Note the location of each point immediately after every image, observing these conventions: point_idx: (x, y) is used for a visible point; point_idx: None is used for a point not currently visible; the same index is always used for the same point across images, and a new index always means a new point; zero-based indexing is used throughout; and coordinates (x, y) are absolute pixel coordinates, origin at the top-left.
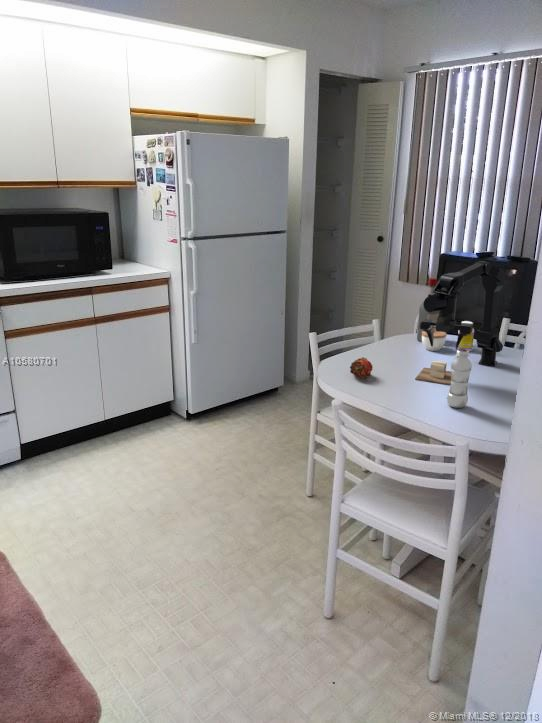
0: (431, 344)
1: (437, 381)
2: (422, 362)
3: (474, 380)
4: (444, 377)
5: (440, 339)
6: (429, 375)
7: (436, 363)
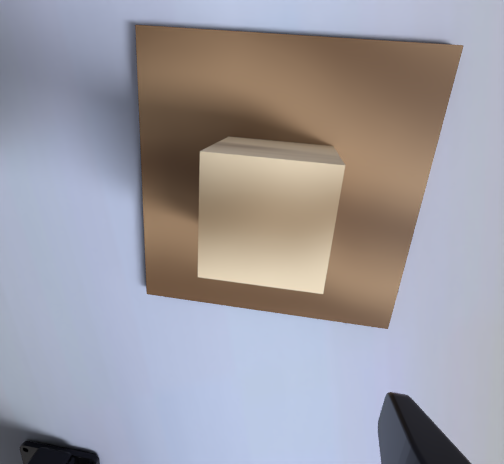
0: (420, 422)
1: (259, 40)
2: None
3: (44, 207)
4: None
5: None
6: None
7: (288, 220)
